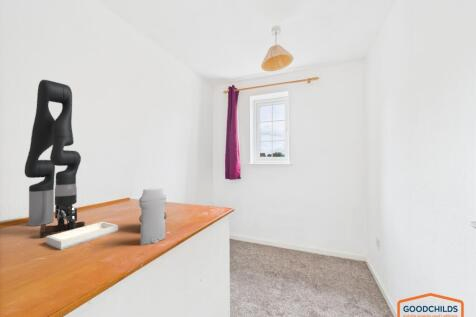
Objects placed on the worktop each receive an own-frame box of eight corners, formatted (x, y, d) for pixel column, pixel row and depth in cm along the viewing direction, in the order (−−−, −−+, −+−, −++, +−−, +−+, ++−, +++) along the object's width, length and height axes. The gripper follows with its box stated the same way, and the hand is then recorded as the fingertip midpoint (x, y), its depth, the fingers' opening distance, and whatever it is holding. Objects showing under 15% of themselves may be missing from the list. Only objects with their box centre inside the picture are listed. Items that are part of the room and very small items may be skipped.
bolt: (84, 232, 93) (39, 240, 84) (83, 226, 97) (41, 232, 87) (85, 222, 92) (39, 229, 82) (84, 216, 95) (41, 221, 85)
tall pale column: (141, 247, 75) (141, 189, 75) (137, 243, 77) (137, 188, 78) (168, 239, 82) (168, 186, 82) (164, 236, 85) (164, 185, 85)
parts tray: (46, 243, 78) (46, 236, 78) (102, 227, 96) (102, 221, 96) (61, 250, 72) (61, 241, 72) (117, 231, 91) (118, 225, 91)
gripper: (48, 194, 90) (47, 229, 90) (63, 196, 83) (63, 235, 83) (68, 191, 96) (67, 224, 96) (83, 193, 90) (83, 229, 90)
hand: (65, 229), depth 90 cm, fingers open, 8 cm apart
